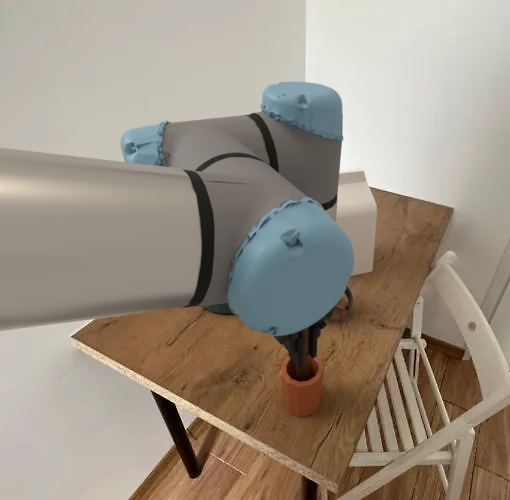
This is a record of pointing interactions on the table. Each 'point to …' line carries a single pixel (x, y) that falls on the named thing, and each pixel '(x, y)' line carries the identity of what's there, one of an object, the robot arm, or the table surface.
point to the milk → (357, 217)
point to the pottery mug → (340, 309)
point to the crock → (302, 387)
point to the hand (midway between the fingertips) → (302, 356)
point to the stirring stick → (304, 356)
